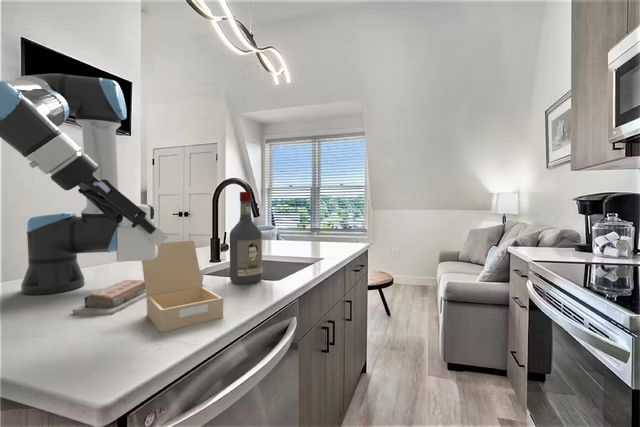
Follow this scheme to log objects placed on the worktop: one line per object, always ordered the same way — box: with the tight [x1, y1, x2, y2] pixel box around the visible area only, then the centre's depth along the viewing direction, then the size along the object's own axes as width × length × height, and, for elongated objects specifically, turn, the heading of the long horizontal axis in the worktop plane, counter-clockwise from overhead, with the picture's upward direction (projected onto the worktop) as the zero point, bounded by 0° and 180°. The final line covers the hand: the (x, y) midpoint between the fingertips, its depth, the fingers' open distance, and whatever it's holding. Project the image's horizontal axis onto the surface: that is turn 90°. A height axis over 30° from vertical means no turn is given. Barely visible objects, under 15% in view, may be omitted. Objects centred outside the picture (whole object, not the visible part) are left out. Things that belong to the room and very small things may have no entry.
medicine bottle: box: [116, 203, 159, 262], centre depth 72 cm, size 7×7×12 cm
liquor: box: [229, 191, 263, 286], centre depth 109 cm, size 9×9×30 cm
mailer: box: [141, 240, 224, 333], centre depth 78 cm, size 20×13×16 cm, turn 39°
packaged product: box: [71, 279, 147, 315], centre depth 86 cm, size 18×5×10 cm
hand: (153, 239), depth 74 cm, fingers closed on medicine bottle, 9 cm apart
